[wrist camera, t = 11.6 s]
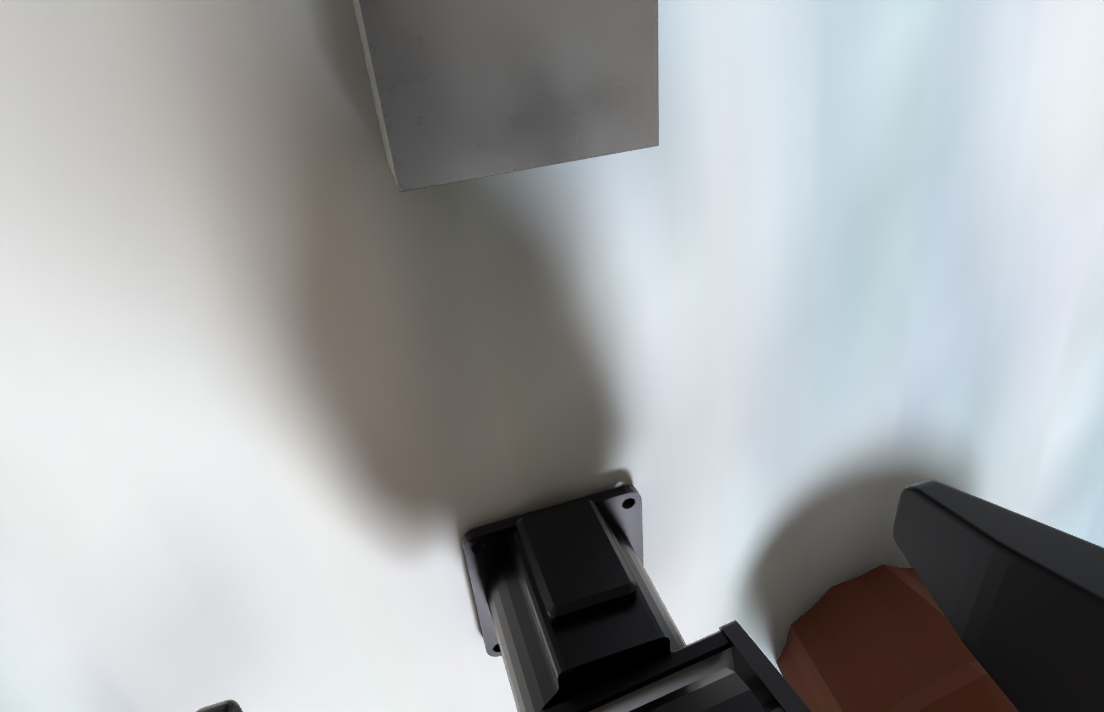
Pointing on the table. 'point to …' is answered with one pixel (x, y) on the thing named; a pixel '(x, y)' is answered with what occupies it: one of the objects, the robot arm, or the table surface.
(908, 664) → the muffin
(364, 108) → the table surface
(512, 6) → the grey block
